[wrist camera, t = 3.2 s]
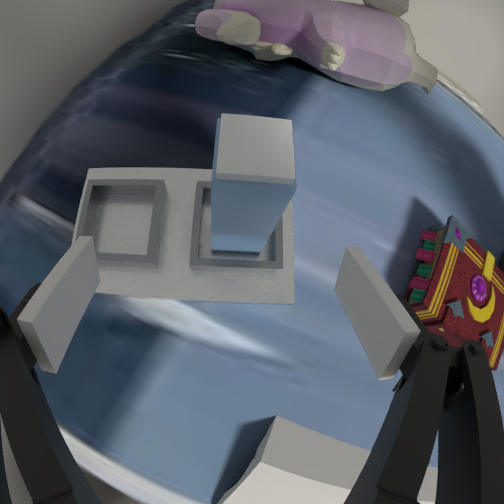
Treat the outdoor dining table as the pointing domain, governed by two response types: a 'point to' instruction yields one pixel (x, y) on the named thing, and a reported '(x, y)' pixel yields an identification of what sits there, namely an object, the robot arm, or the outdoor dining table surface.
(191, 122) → the outdoor dining table surface
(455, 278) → the decorative book
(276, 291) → the panel
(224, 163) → the plug
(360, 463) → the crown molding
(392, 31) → the toy
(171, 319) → the outdoor dining table surface
